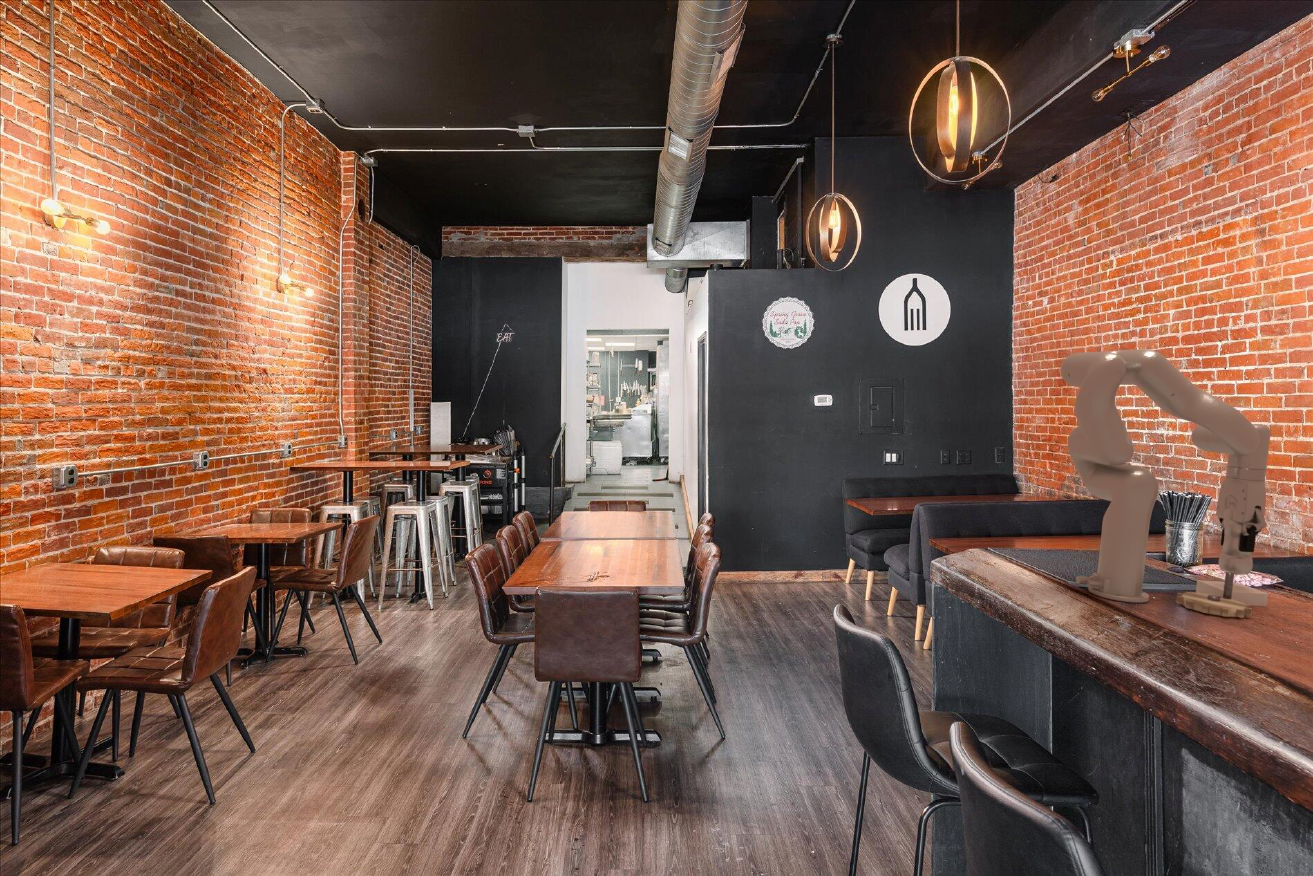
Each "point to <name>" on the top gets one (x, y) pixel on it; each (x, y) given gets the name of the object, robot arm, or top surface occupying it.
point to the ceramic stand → (1234, 592)
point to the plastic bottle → (1234, 548)
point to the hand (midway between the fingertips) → (1236, 548)
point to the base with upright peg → (1216, 601)
